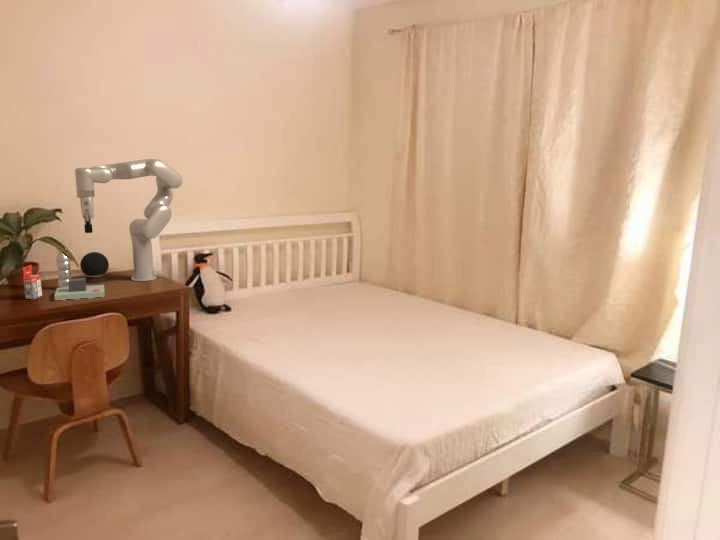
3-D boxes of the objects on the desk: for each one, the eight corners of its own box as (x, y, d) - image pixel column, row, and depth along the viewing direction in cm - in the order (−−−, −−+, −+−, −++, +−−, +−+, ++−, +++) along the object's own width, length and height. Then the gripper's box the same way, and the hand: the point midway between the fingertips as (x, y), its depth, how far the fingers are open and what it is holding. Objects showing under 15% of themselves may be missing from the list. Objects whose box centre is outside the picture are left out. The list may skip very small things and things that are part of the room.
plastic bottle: (74, 286, 274) (70, 246, 270) (72, 289, 268) (68, 248, 264) (59, 287, 272) (55, 246, 268) (57, 290, 266) (53, 249, 262)
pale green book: (104, 289, 270) (103, 283, 269) (104, 297, 256) (103, 290, 255) (57, 293, 261) (56, 286, 261) (54, 301, 248) (54, 293, 247)
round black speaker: (82, 279, 290) (80, 250, 287) (110, 277, 296) (108, 249, 292) (80, 284, 279) (78, 255, 276) (109, 282, 284) (107, 253, 281)
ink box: (42, 295, 257) (39, 264, 254) (33, 300, 249) (30, 268, 246) (34, 295, 257) (31, 264, 254) (25, 300, 249) (21, 267, 246)
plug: (86, 292, 262) (85, 277, 261) (86, 294, 258) (85, 280, 256) (70, 293, 259) (68, 278, 258) (69, 296, 255) (68, 281, 253)
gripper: (94, 195, 259) (97, 234, 263) (94, 193, 272) (97, 230, 276) (76, 195, 256) (79, 235, 260) (77, 193, 269) (80, 230, 273)
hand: (88, 232), depth 268 cm, fingers closed
